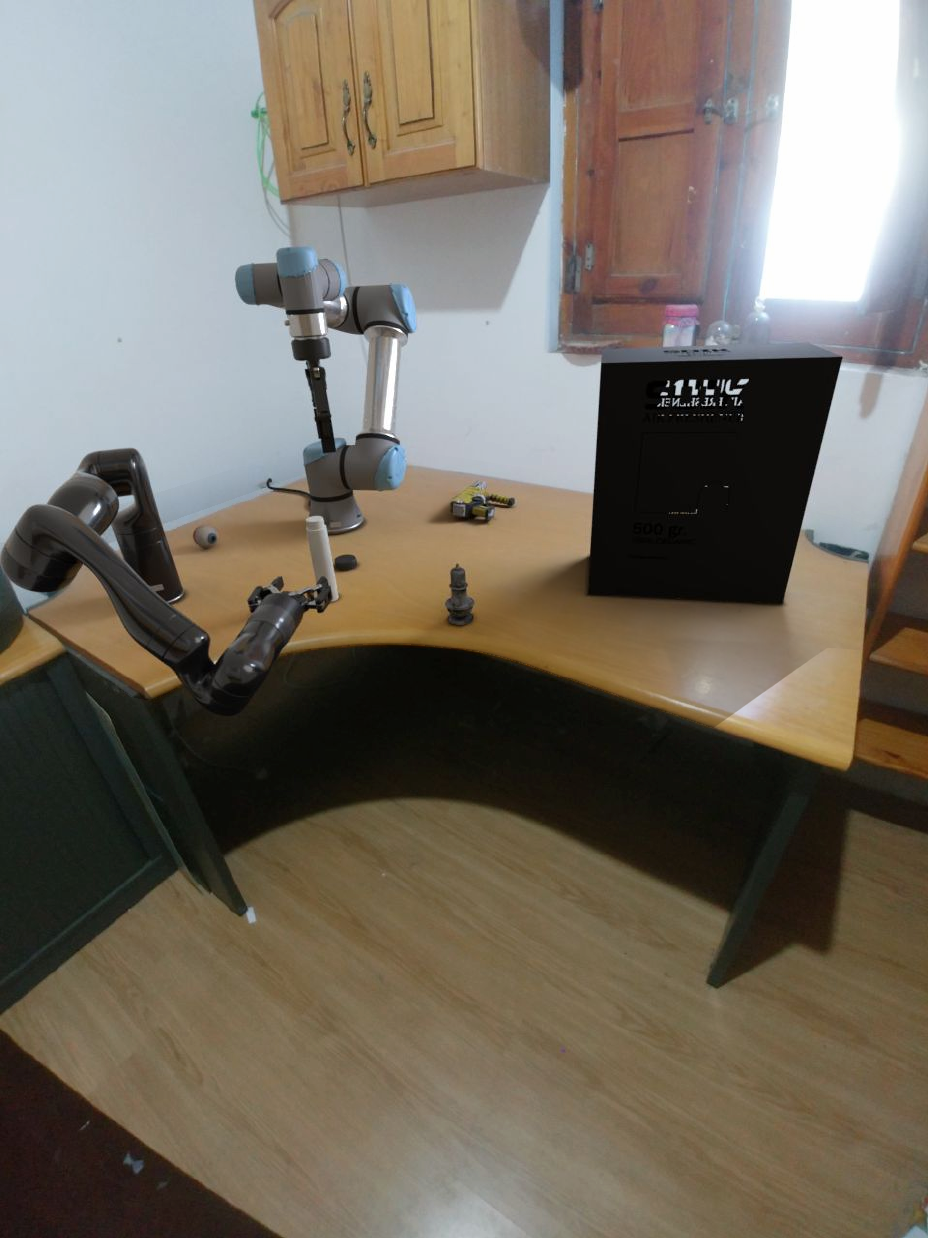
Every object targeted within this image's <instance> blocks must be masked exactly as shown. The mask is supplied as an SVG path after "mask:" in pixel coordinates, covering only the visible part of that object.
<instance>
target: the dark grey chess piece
mask: <svg viewBox="0 0 928 1238" xmlns="http://www.w3.org/2000/svg"><path fill="white" fill-rule="evenodd" d="M449 575H450V583H449V585H448V586H449V589H450V594H451V595H450V597H449V598H447V599H446V600H445V601H444V606H445V608H446V610H447V612H448V613H449V615H447V618H446V620H447V622H448V623H450V625H451V624H452V625H453V626H464V625H468V624H470V623H472V622H473V621H474V619H475V616H474V614H473V613H472V611H473V609H474V606H475V600H474V598H472V597H471V596H469V595H468V593H467V592H468V591H467V588H468V586H469V583H467V580H466V570H465V568H463V567H461V566H460V564H459V563H456V564H455V567H453V568H451V570H450V573H449Z"/></svg>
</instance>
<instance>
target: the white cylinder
mask: <svg viewBox="0 0 928 1238" xmlns="http://www.w3.org/2000/svg"><path fill="white" fill-rule="evenodd" d="M305 523H306V527H305V531H306V537H307V542H308V547H309V553H310V557H311V562H312V563H311V564H312V568H313V573H314V579H315V585H316V584H317V582H318V580H319V579H320V577H321V576H325V577H326V579H327V580H328V585H329V586H331V591H332V597H333V599H332V600H331V602H330V603H334V602H335V601H338V599H339V596H340V595H339V592H338V584H337V580H336V575H335V568H334V563H333V557H332V551H331V545H330V540H329V535H328V534H327V528H326V525H325V524H324V520H323V517H321V516H312V517H309V516H308V517H306V519H305Z"/></svg>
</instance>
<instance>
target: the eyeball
mask: <svg viewBox="0 0 928 1238" xmlns="http://www.w3.org/2000/svg"><path fill="white" fill-rule="evenodd" d="M192 538H193V541H194V543H195V544H196V545H197V546H198V547H200V548H202V549H209V548H212V547H214V546H215V545H216V544H217V543H218V540H219V534H218V532H217V530H216V529H215V528H214V527H213V526H210V525H208V524H201V525H198V527H196V528H195V529H194V531H193V533H192Z"/></svg>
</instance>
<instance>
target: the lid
mask: <svg viewBox="0 0 928 1238" xmlns="http://www.w3.org/2000/svg"><path fill="white" fill-rule="evenodd" d="M357 565H358V562H357V557H356V556H355V555H353V554H350V553H349V554H340V555H338V556H336V557H334V566H335V569H336V570H337V571H340V572H346V571H351V570H354V569H355V568H356V567H357Z"/></svg>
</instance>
